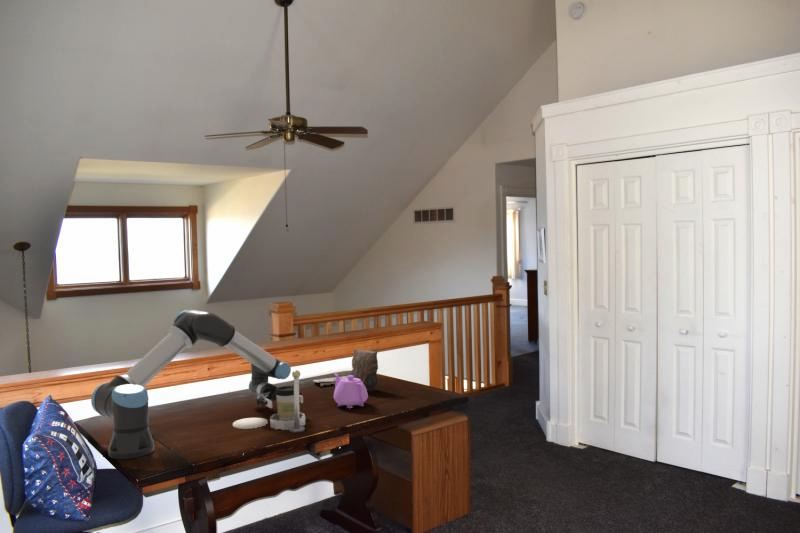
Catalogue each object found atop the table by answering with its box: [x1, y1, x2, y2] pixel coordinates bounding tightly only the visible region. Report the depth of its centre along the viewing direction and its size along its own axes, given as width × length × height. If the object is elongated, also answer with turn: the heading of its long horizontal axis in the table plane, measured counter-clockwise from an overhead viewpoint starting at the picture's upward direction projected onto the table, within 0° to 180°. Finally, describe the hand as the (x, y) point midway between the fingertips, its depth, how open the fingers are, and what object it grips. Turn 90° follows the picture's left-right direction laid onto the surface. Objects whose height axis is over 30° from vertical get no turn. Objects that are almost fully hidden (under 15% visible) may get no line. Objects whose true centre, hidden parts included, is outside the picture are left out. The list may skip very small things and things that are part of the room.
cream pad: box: [232, 417, 269, 430], centre depth 254 cm, size 14×14×1 cm
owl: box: [350, 349, 379, 392], centre depth 311 cm, size 13×13×20 cm
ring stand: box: [269, 369, 306, 434], centre depth 249 cm, size 19×14×24 cm
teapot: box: [333, 372, 369, 410], centre depth 282 cm, size 22×16×14 cm
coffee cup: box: [275, 385, 294, 421], centre depth 252 cm, size 10×10×15 cm
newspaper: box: [311, 375, 348, 387], centre depth 331 cm, size 35×12×4 cm, turn 123°
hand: (287, 402), depth 254 cm, fingers open, 13 cm apart
